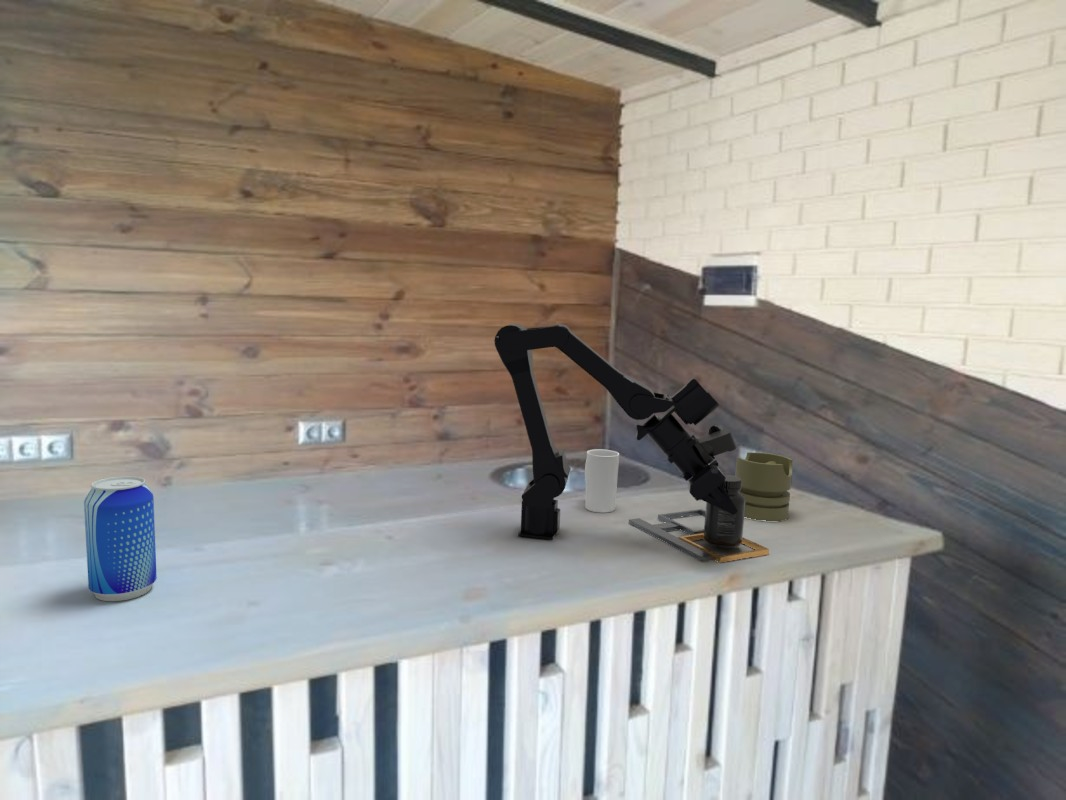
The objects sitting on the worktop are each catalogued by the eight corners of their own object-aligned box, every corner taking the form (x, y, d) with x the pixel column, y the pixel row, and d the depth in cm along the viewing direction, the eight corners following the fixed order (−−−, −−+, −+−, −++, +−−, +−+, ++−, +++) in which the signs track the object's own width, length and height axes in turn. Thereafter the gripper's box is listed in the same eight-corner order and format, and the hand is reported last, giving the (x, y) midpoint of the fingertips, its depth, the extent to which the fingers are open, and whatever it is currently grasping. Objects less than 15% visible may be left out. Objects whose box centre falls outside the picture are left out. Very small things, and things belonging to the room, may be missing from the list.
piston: (728, 457, 149) (748, 450, 158) (723, 513, 151) (744, 502, 160) (782, 467, 143) (800, 458, 151) (776, 525, 144) (795, 513, 153)
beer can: (109, 609, 96) (103, 494, 94) (77, 593, 101) (70, 483, 98) (169, 588, 104) (165, 481, 101) (136, 575, 108) (131, 471, 106)
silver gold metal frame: (708, 565, 121) (709, 559, 121) (628, 523, 142) (628, 518, 142) (787, 551, 130) (788, 545, 129) (700, 513, 150) (701, 508, 150)
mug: (622, 511, 150) (625, 455, 148) (594, 514, 147) (597, 457, 145) (597, 498, 158) (600, 445, 157) (570, 501, 156) (573, 447, 154)
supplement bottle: (748, 542, 130) (754, 478, 128) (731, 552, 125) (737, 486, 123) (713, 532, 135) (719, 470, 132) (695, 541, 130) (701, 477, 127)
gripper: (716, 422, 118) (779, 493, 118) (705, 405, 136) (759, 466, 136) (664, 464, 120) (726, 534, 120) (660, 442, 138) (713, 503, 138)
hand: (732, 507), depth 128 cm, fingers closed on supplement bottle, 6 cm apart
